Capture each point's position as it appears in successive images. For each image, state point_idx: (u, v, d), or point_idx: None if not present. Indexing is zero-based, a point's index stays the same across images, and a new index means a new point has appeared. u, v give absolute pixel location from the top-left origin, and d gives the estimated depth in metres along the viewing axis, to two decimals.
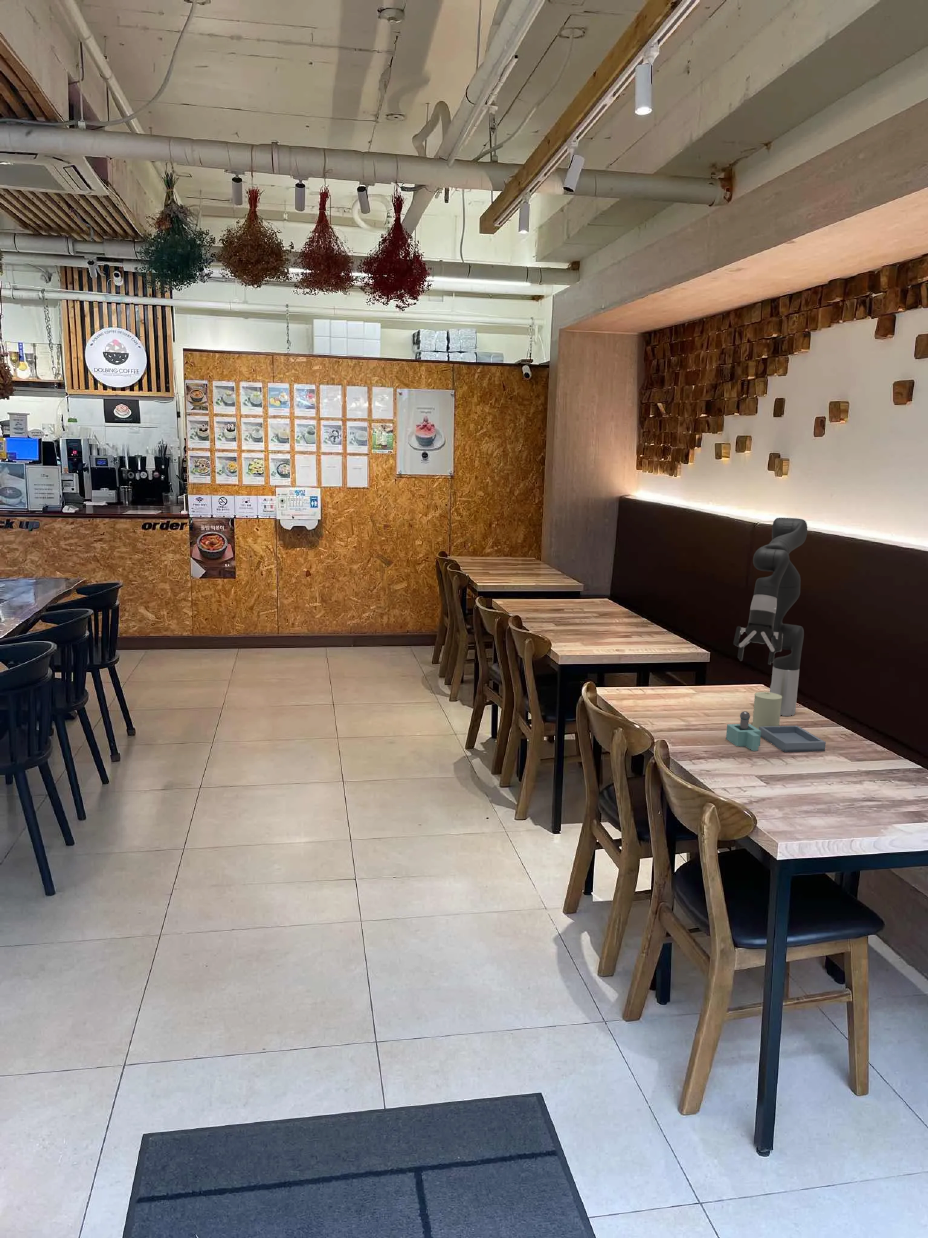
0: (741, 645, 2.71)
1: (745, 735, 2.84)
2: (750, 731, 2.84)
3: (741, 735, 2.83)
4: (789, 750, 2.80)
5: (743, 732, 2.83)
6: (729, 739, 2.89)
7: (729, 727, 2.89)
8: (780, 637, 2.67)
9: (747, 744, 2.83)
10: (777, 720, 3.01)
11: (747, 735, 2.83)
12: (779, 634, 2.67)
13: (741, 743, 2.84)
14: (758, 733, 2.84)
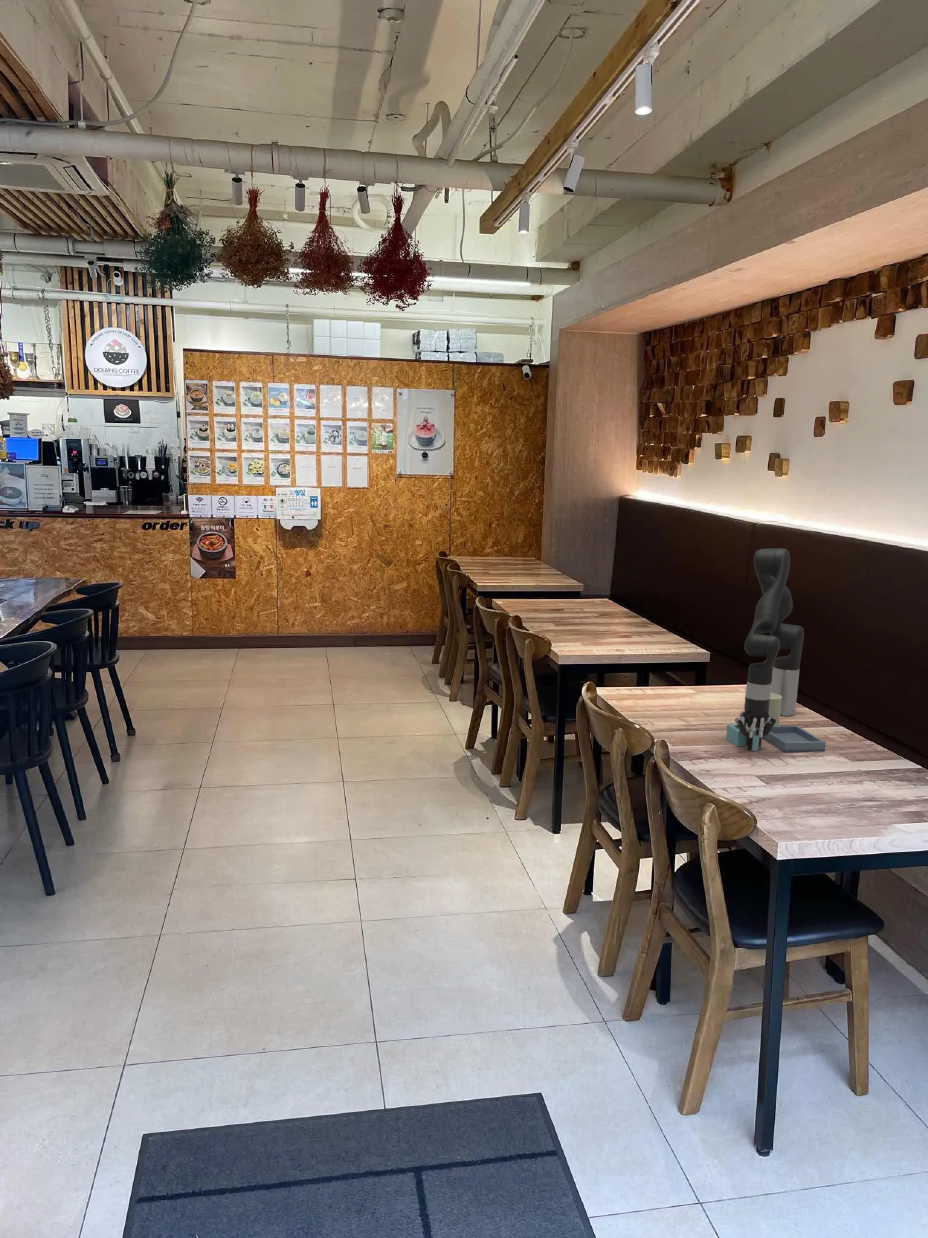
0: (751, 735, 2.79)
1: None
2: None
3: (741, 735, 2.83)
4: (789, 750, 2.80)
5: None
6: (729, 739, 2.89)
7: (729, 727, 2.89)
8: (772, 724, 2.80)
9: None
10: (777, 720, 3.01)
11: None
12: (773, 721, 2.79)
13: (741, 743, 2.84)
14: None
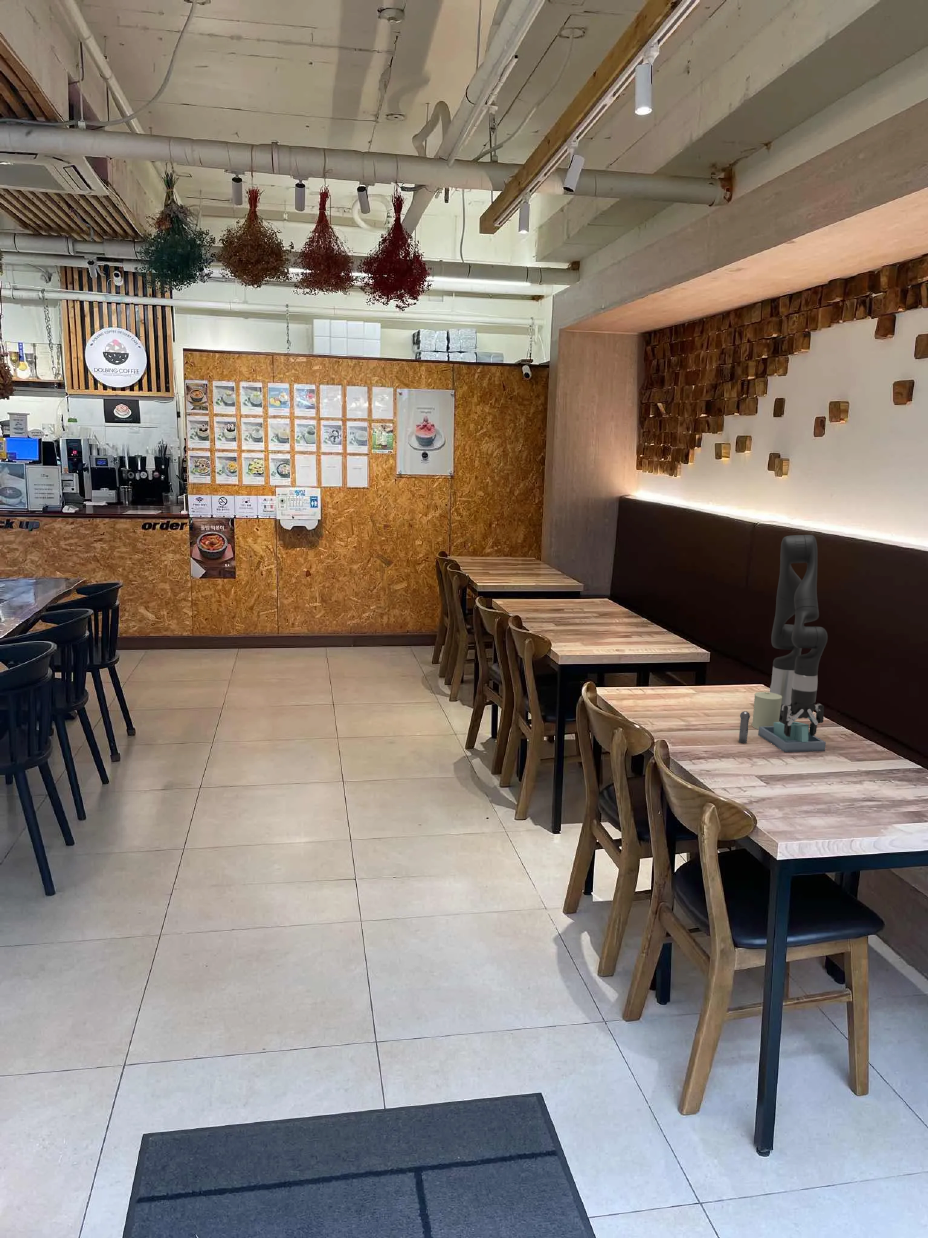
0: (789, 723, 2.81)
1: (793, 728, 2.84)
2: (797, 724, 2.85)
3: None
4: (789, 750, 2.80)
5: (791, 725, 2.84)
6: None
7: (776, 724, 2.90)
8: (822, 710, 2.82)
9: (796, 738, 2.84)
10: (777, 720, 3.01)
11: (795, 728, 2.84)
12: (821, 708, 2.82)
13: (790, 737, 2.84)
14: None
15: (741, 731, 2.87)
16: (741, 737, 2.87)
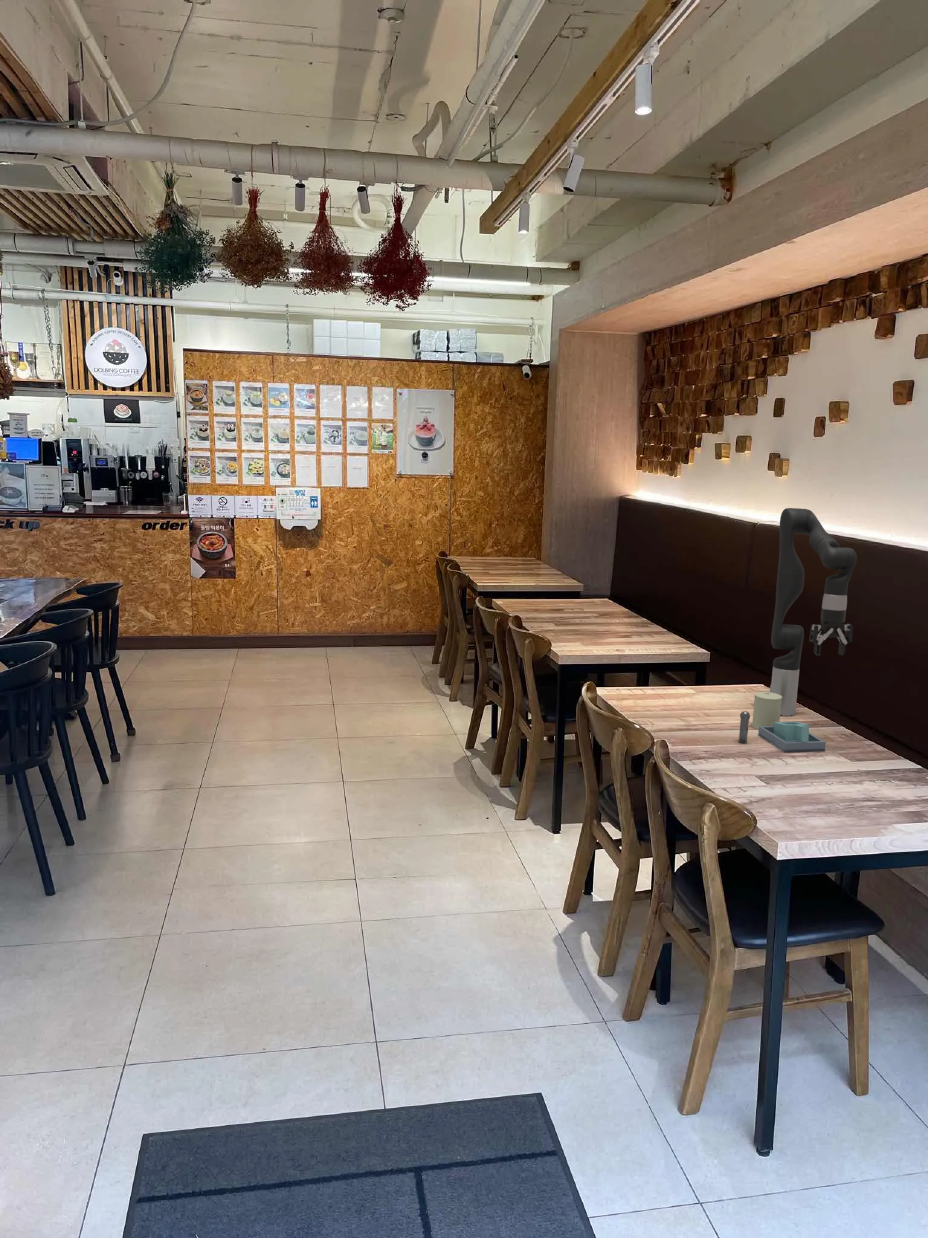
0: (819, 642, 2.90)
1: (793, 728, 2.84)
2: (797, 724, 2.85)
3: (789, 728, 2.84)
4: (789, 750, 2.80)
5: (791, 725, 2.84)
6: None
7: (776, 724, 2.90)
8: (851, 630, 2.91)
9: (796, 738, 2.84)
10: (777, 720, 3.01)
11: (795, 728, 2.84)
12: (850, 627, 2.91)
13: (790, 737, 2.84)
14: None
15: (741, 731, 2.87)
16: (741, 737, 2.87)
